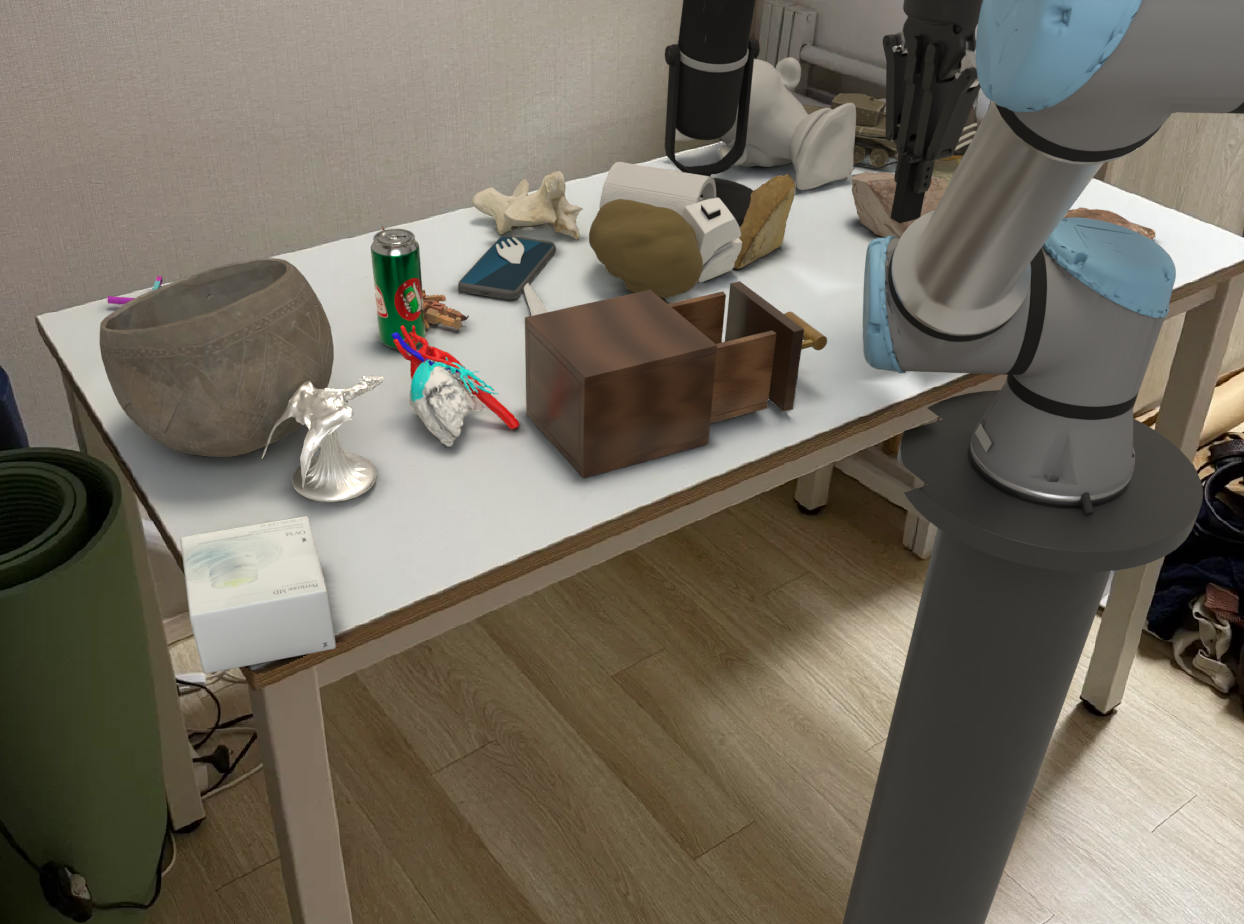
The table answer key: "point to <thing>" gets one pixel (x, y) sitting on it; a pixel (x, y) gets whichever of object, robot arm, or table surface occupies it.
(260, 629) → the cosmetics box
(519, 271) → the smartphone
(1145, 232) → the brown rocky slab
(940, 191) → the stone
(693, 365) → the cabinet
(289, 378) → the bowl
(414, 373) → the anatomical heart model
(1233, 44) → the robot arm
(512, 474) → the table surface
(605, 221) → the decorative stone
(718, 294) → the drawer
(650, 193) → the cup
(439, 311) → the armored character
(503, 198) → the decorative object
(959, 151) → the doughnut
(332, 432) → the figurine
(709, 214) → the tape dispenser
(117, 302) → the squeegee
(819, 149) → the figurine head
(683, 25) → the microphone
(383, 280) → the soda can
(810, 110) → the toy tank
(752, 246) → the rock
